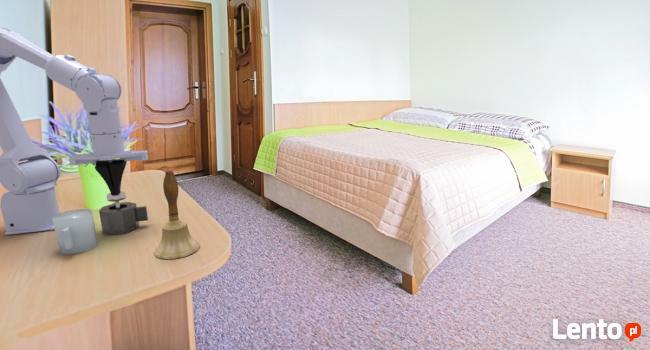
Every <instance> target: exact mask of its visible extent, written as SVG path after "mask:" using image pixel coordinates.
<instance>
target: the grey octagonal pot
mask: <svg viewBox="0 0 650 350" xmlns="http://www.w3.org/2000/svg"><path fill="white" fill-rule="evenodd" d="M119 203H120V209H116V204H115V202H114V203H110V204H108V205H103V206H101V208H100V209H99V210H98V213H99V214H98V215H99V218H100V226H101V230H102V231H101V232H102V234H105V235H108V236H109V235H110V236H115V235H122V234H123V235H124V234H128V233H130V232H133V231H135V230H137V229H138V228H139V226H140V222H144V221H145V222H147V221H148V220H149V216H148V209H147V205H144V206H137V203H136V202H131V201H124V202H119Z"/></svg>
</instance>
